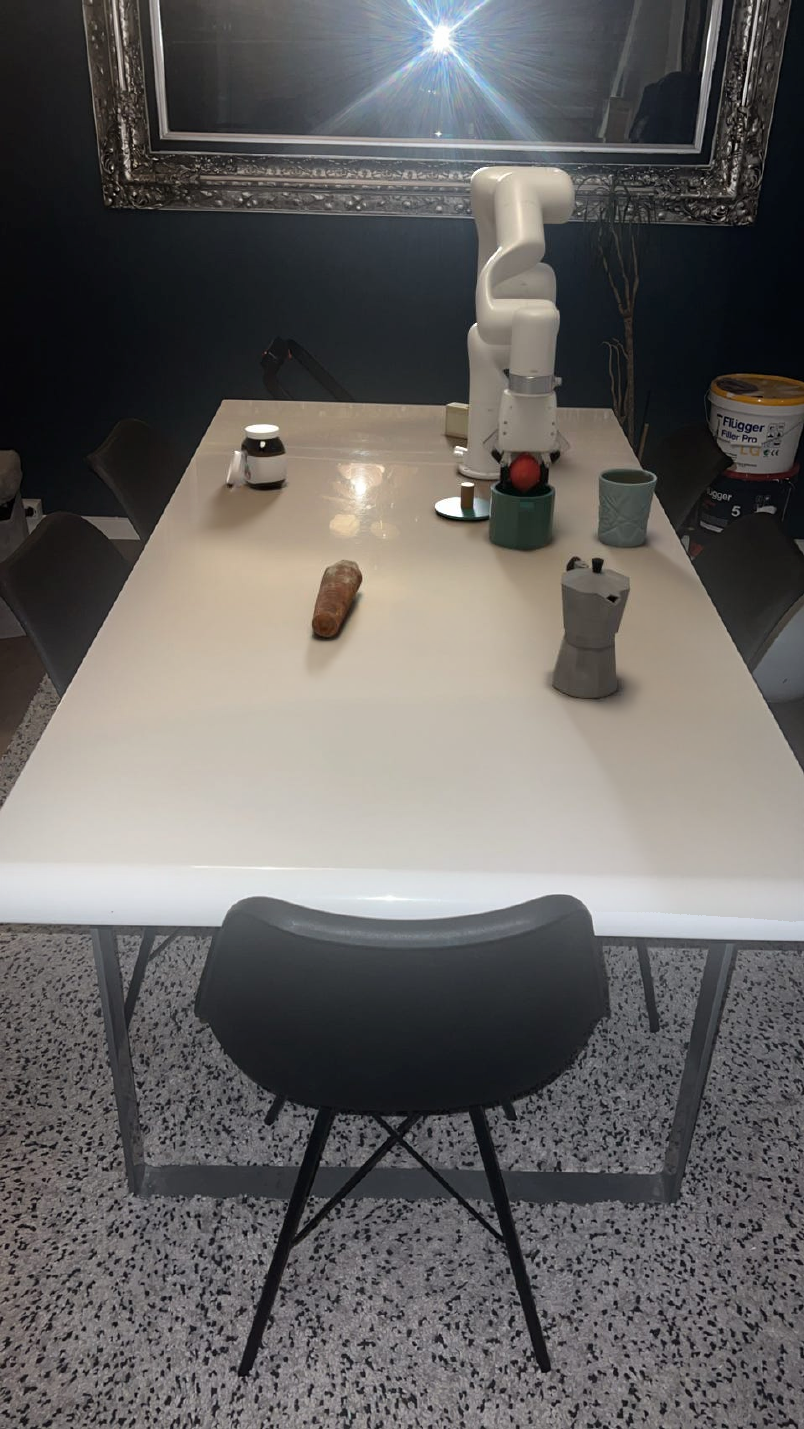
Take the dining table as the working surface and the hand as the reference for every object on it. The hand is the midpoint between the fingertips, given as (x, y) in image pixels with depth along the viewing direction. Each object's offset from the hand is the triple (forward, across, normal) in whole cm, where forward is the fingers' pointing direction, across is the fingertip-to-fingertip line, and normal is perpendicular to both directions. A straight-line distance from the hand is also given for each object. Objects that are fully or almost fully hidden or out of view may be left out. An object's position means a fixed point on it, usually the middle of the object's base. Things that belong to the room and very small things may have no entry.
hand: (523, 486), depth 186 cm
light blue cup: (+10, -19, 0) cm, 21 cm away
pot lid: (+9, +9, -15) cm, 20 cm away
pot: (+10, 0, 0) cm, 10 cm away
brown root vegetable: (+10, +31, +36) cm, 48 cm away
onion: (+1, 0, 0) cm, 1 cm away
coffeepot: (+10, -3, +56) cm, 57 cm away
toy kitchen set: (+10, 0, -77) cm, 77 cm away
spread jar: (+10, +53, -31) cm, 62 cm away
